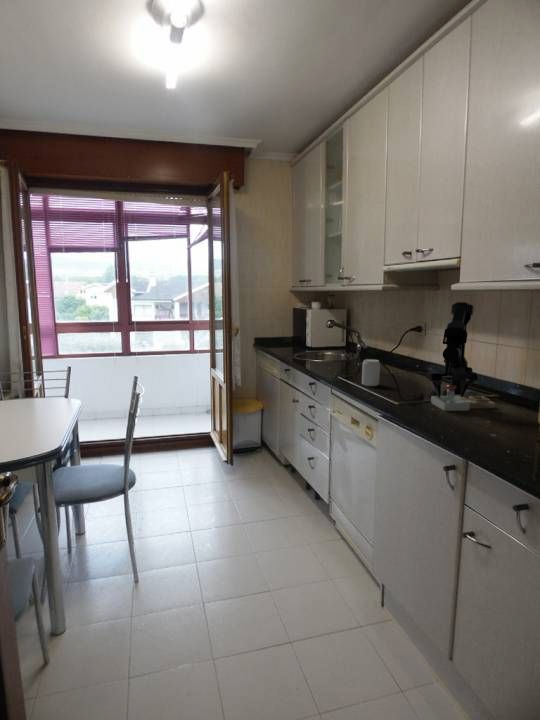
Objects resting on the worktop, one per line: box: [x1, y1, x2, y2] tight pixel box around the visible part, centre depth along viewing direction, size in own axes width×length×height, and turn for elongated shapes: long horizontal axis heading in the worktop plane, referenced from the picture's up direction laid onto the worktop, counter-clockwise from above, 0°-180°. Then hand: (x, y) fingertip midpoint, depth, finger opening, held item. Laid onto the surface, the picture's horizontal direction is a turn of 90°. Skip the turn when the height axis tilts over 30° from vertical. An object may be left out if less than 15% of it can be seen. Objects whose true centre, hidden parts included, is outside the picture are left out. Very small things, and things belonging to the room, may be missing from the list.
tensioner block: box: [454, 389, 496, 409], centre depth 183 cm, size 14×10×5 cm
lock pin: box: [445, 383, 457, 403], centre depth 178 cm, size 4×4×8 cm
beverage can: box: [361, 358, 381, 387], centre depth 215 cm, size 8×8×12 cm
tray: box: [430, 395, 471, 412], centre depth 178 cm, size 12×10×3 cm
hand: (450, 397), depth 178 cm, fingers open, 9 cm apart
